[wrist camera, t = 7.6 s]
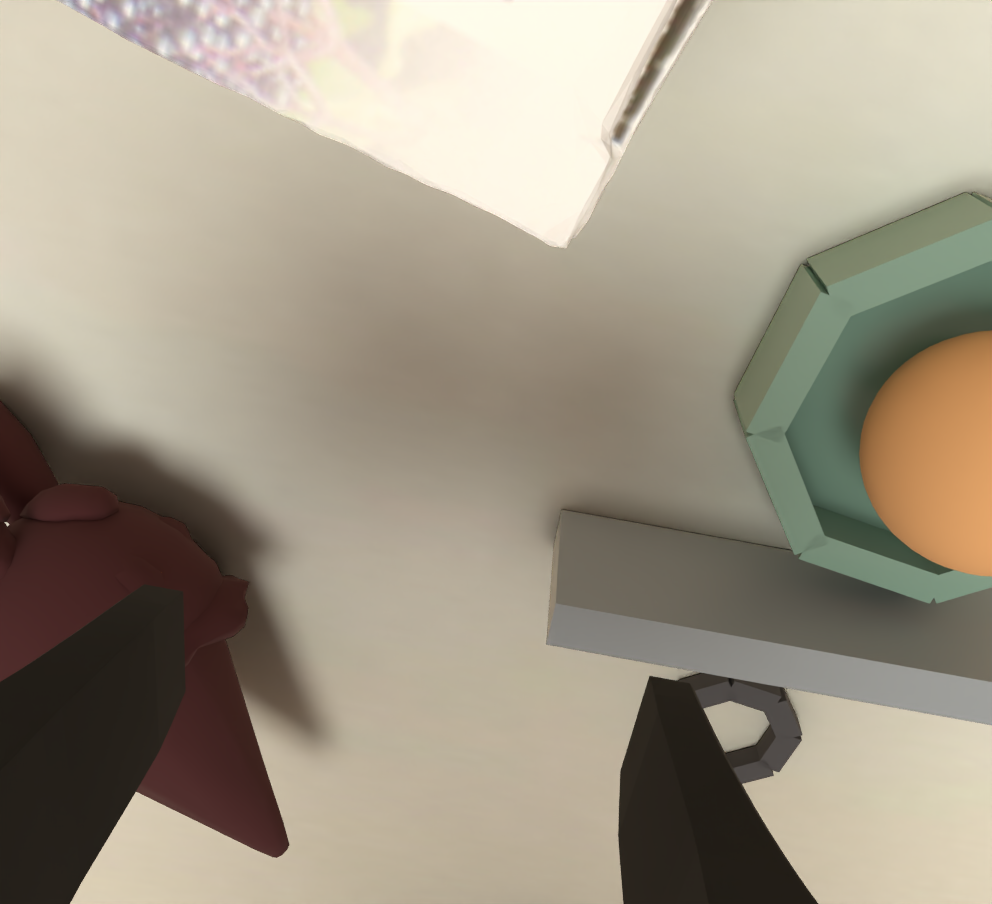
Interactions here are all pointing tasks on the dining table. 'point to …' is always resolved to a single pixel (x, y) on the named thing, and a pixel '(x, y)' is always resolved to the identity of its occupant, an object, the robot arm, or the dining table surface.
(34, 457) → the icecream
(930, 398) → the ball
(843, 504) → the dish
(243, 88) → the syrup box
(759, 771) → the ring
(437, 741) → the dining table surface
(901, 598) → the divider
